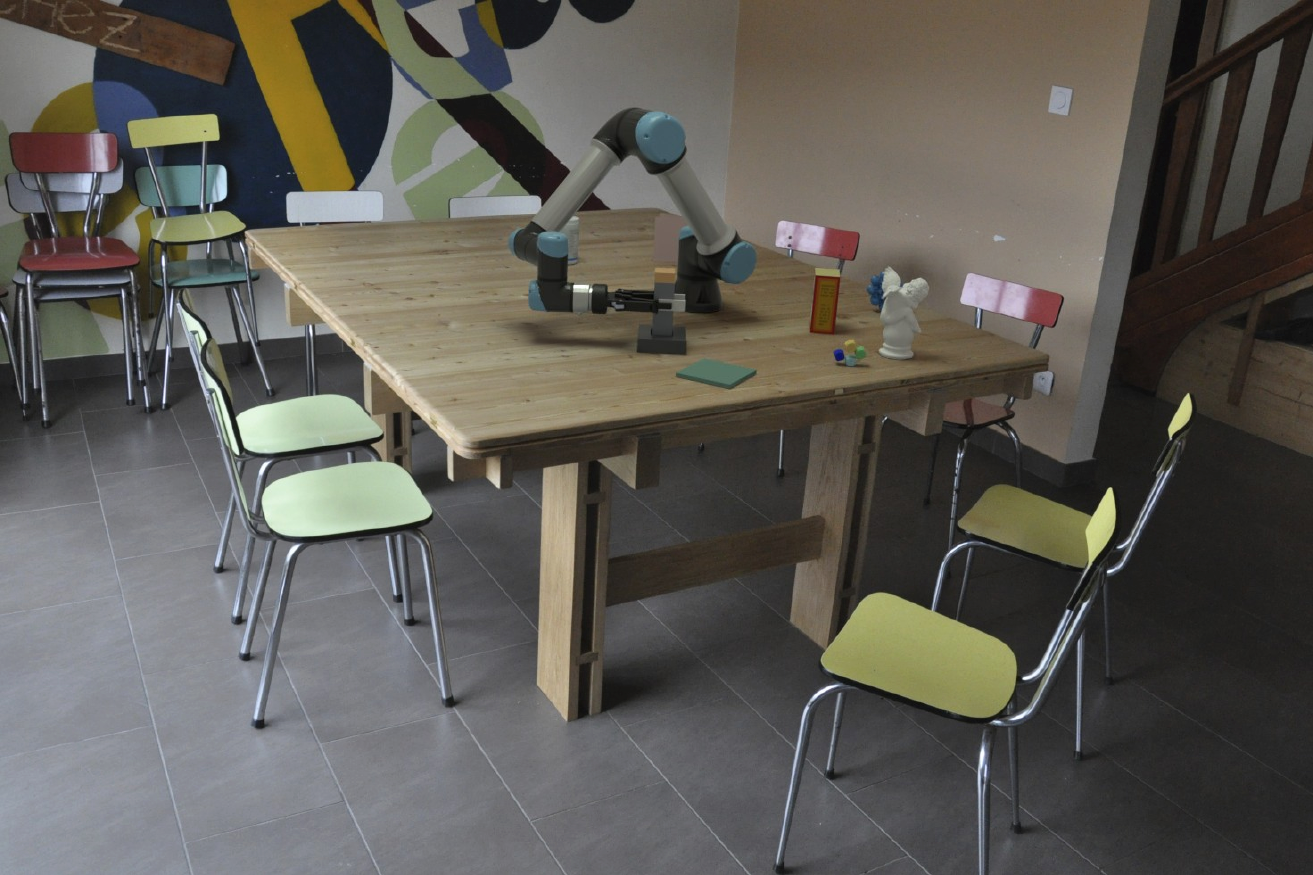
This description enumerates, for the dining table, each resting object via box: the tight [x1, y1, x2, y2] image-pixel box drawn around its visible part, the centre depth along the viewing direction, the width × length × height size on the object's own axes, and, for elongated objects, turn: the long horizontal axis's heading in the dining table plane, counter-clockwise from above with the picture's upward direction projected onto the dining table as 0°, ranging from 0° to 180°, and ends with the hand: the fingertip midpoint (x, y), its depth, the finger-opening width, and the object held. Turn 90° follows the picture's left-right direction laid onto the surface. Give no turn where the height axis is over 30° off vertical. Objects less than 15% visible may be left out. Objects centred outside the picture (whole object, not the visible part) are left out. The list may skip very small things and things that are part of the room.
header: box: [636, 323, 687, 355], centre depth 279 cm, size 13×12×4 cm
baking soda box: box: [808, 267, 841, 335], centre depth 299 cm, size 10×6×16 cm
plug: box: [652, 267, 676, 336], centre depth 276 cm, size 5×5×18 cm
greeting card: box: [652, 212, 688, 263], centre depth 368 cm, size 11×7×15 cm, turn 59°
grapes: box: [866, 270, 905, 312], centre depth 319 cm, size 12×7×12 cm, turn 89°
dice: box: [833, 339, 867, 367], centre depth 272 cm, size 8×3×6 cm, turn 89°
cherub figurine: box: [878, 265, 930, 360], centre depth 278 cm, size 12×12×22 cm
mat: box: [675, 357, 757, 390], centre depth 260 cm, size 14×14×1 cm
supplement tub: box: [560, 215, 580, 266], centre depth 359 cm, size 10×10×15 cm
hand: (684, 303), depth 276 cm, fingers closed on plug, 5 cm apart
